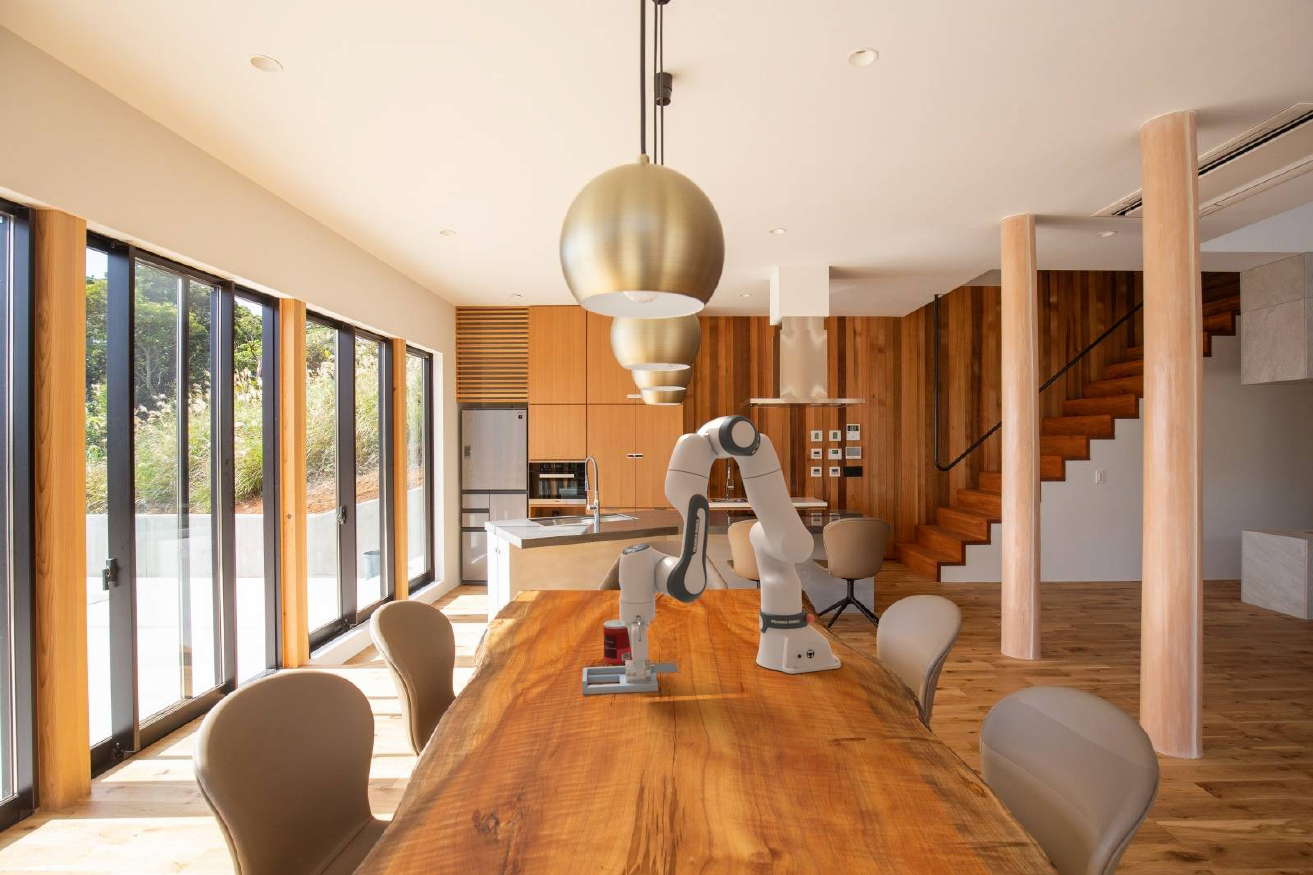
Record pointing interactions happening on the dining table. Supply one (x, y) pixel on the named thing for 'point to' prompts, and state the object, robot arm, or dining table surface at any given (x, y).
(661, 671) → the pad
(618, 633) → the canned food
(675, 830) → the dining table surface
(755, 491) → the robot arm
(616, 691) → the grey slotted tray
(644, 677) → the white boxy piece
